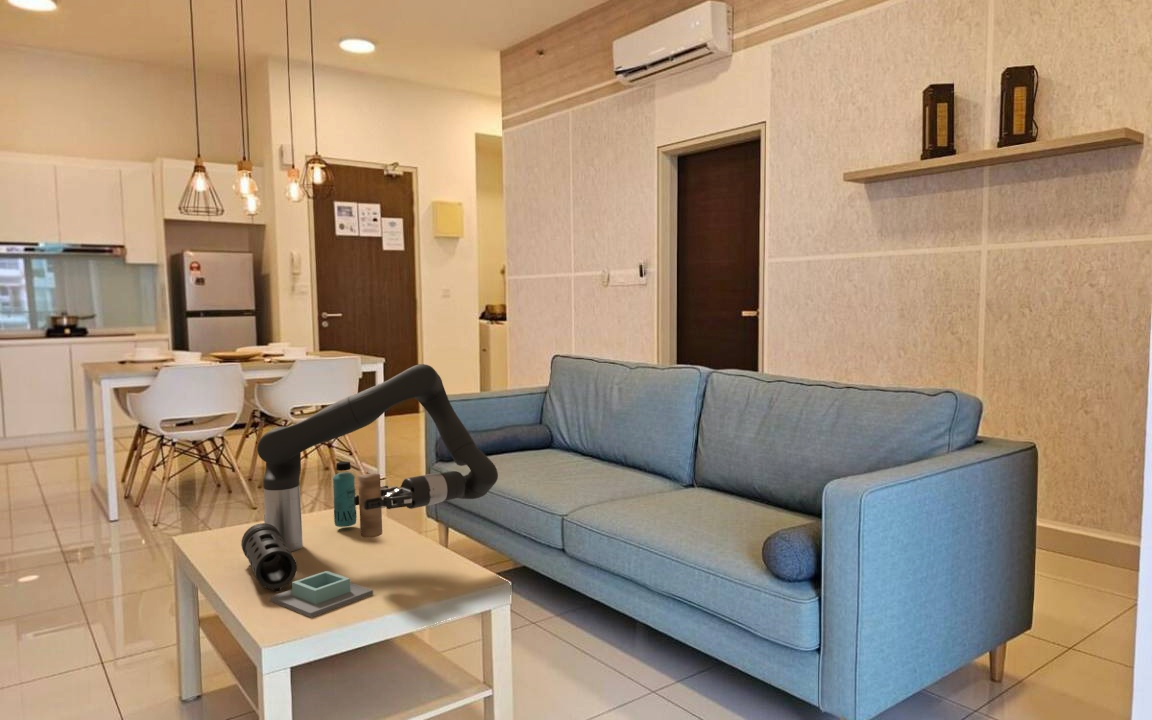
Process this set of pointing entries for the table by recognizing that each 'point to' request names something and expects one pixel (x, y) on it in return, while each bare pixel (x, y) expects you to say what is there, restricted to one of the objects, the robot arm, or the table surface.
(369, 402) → the robot arm
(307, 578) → the socket stand
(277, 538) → the muzzle brake
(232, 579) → the table surface
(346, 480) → the beverage bottle
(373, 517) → the walnut peg
